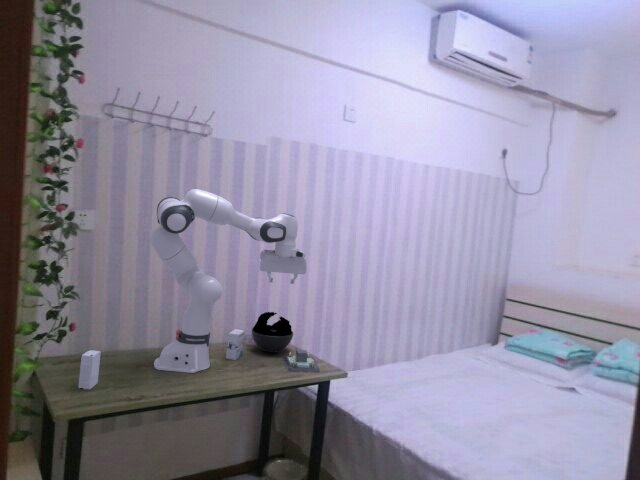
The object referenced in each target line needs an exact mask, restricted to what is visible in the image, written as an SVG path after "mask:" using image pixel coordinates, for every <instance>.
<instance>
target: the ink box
mask: <svg viewBox="0 0 640 480" xmlns="http://www.w3.org/2000/svg"><path fill="white" fill-rule="evenodd" d="M245 332H246V331H245V330H243V329H238V328H234V329H233V330H232V331H230V332H229V333H228V337H227V345H226V352H225V359H227V360H231V361H232V360H233V361H236V360H237V359H239V358H240V357H241V356H243V346H244V339H245Z"/></svg>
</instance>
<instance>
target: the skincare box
mask: <svg viewBox="0 0 640 480" xmlns="http://www.w3.org/2000/svg"><path fill="white" fill-rule="evenodd" d="M100 363H101V351H100V350H93V349H92V350H91V349H90V350H88V351H86V352H84V353H83V354H81V360H80V367H79V378H78V389H80V388H83V389H82V390H91V389H92V388H94V387H95V386H96V385H97V384H98V383H99V374H100V372H99V371H100Z"/></svg>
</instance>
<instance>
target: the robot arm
mask: <svg viewBox="0 0 640 480" xmlns="http://www.w3.org/2000/svg"><path fill="white" fill-rule="evenodd" d="M156 215H157V217H156V218H157V223H158V226H157V227H155V228H154V230H153V231H152V232H151V233H150V235H149V241H150V243H151V246H152V247H153V249H154V251H155V253H156V254H157V255H158V257H159V258H160V259H161V260H162V262H163V264H164V265H165V266H166V268H167V269H168V270H169V271H170V273H171V274H172V276H173V277H174V278H175V280H176V282H177V284H178V285H179V288H180V289H181V290H182V291H183V293H184V294H185V295H186V296H188V297H189V298H190V300H189V304H188V307H187V309H186V310H185V311H184V312H183V317H182V328H181V329H177V330H176V332H175V334H176V337H175V340H173V341H172V342H171V343H169V344H167V345H166V346H164V348H163V349H162V351H161V353H160V356H159V357H157V358H156V359H155V360H154V362H153V367H154V369H155V370H158V371H166V372H167V371H169V372H178V373H190V374H194V373H197V372H199V371H204V370H206V369H208V368H210V367H211V364H210V359H209V358H210V357H209V346H210V341H211V332H210V328H211V320H212V319H211V318H212V313H213V310H214V307H215V305H216V302H218V301H219V299H220V298H221V297H222V295H223V287H222V284H221V283H220V282H219V281H218V280H217V278H215V277H213V276H211V275H208V274H207V273H205V272H204V271H203V270H201V268H200V266H199V264H198V262H197V256H196V255H195V254H194V253H193V252H192V250H191V249H190V247H189V246H188V244H186V243H185V241H184V240H183V238H182V237H181V235H180V233H183V232H185V231H186V230H187V229H188V228H189V226H190V225H191V223H193V221H195V218H199V219H201V220H203V221H206V222H208V223H211V224H215V225H219V226H225V225H229V226H233V227H234V228H237V229H239V230H241V231H245V232H246V233H247V234H248V235H249V236H250V238H252V239H253V240H255V241H260V242H263V243H266V244H272V243H274V244H275V245H274V249H264V250H261V251H260V255H259V258H260V262H259V270H260V271H261V272H267V273H266V274H267V277H268V283H274V281H273V279H274V278H273V277H271V274H272V273H280V274H284V273H285V274H292V275H293V278H290V281H289V283H290V284H291V285H294V284H295V281H296V280H297V278H298V275H306V273H307V260H306V252H304V251H303V250H300V249H298V248H297V244H296V239H297V238H298V237H297V236H298V218H297V217H296V216H294V215H292V214H290V213H286V212H285V213H283V212H281V213H280V214H278V215H277V216H274V217H272V218H269V219H266V218H263V217H250V216H248V215H246V214H243V213H241V212H239V211H237V210H236V209H234V205H233V204H232V203H231V202H230V201H229V200H227V199H226V198H224V197H222V196H220V195H218V194H215V193H212V192H209V191H206V190H202V189H197V188H192V189H190V190H189V191H188V192H187V193H186V194H185V195H184V198H183V199H181V200H180V199H179V198H176V197H173V196H167V197H164V198H163V199H161V200H160V201H159V203H158V204H157V209H156Z"/></svg>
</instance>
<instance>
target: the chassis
mask: <svg viewBox="0 0 640 480" xmlns="http://www.w3.org/2000/svg"><path fill="white" fill-rule="evenodd" d="M307 353H308V355H307V358H311V359H312V365H310V366H309V368H305V367H297V365H295V359H294V360H293V365H290V364H289V362H288V360H287V358H288V357H292V351H289V352H288V356H282V361H283V364H284V366H285V368H286V370H287V372H303V373H304V372H307V373H320V371H321V368H320V367H319V366H318V363H316V361H315V359H314V358H313V357H310V352H307ZM314 363H315V364H314Z"/></svg>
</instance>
